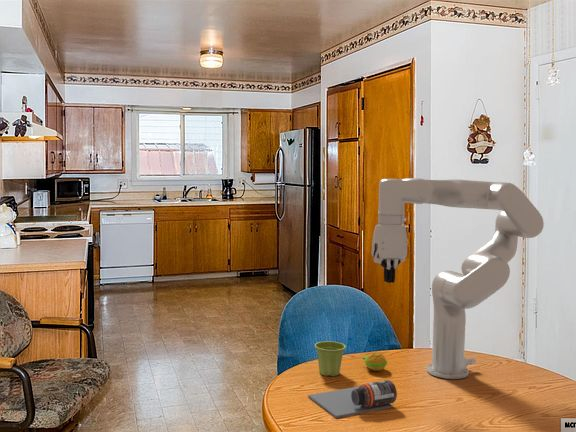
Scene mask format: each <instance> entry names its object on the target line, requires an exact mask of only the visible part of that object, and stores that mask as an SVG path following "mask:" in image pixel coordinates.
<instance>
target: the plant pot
mask: <svg viewBox="0 0 576 432" xmlns="http://www.w3.org/2000/svg"><path fill="white" fill-rule="evenodd" d="M346 346H347V345H346V344H345V343H341V342H338V341H330V340H329V341H328V340H327V341H326V340H325V341H324V340H323V341H319V342H316V343H315V344H314V347H315V350H316V354H317V362H318V370H319V371H318V372H319V374H320V375H322V376H325V377H328V376H331V377H335V376H338V375H340V370H341V366H342V360H343V356H344V352H345V350H346V348H347V347H346Z"/></svg>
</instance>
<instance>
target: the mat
mask: <svg viewBox="0 0 576 432" xmlns="http://www.w3.org/2000/svg"><path fill="white" fill-rule="evenodd" d="M358 387H359V386H354V387H349V388H342V389H335V390H331V391H330V390H329V391H324V392H318V393H313V394H307V395H308V396H307V397H308V399H309V400H311V401H312V402H314V403H315V404H316V403H317V406H319V407H320V408H322V409H323V410H324V409H325V410H324V411H326V412H327V413H328V414H330V415H331V416H332V417H333V418H335V419H340V418H344V417H350V416H355V415H356V416H357V415H360V414H364V413H369V412H375V411H380V410H386V409H390V408H393V405H392V403H391V404H385V405H379V406H374V407H368V408H365V407H363V406H362V405H357V406H356V405H354V404H353V402H352V398H351V393H352V390H355V389H358Z"/></svg>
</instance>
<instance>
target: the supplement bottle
mask: <svg viewBox="0 0 576 432" xmlns="http://www.w3.org/2000/svg"><path fill="white" fill-rule="evenodd" d="M357 387H358V389H355V390H352V393H351V398H352V402H353V404H354V405H356V406H357V405H362V406H363V407H365V408H368V407H374V406H379V405H385V404H391V405H392V404H394V403H395V402H396V401H397V398H398V397H397V396H398V392H397V388H396V385H395V383H394V382H393V381H392V380H388V379H387V380H381V381H380V380H379V381H375V382H373V381H372V382H368V383H362V384H360V385H359V386H357Z"/></svg>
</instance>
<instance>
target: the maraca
mask: <svg viewBox="0 0 576 432" xmlns="http://www.w3.org/2000/svg"><path fill="white" fill-rule="evenodd" d="M362 360H364V361H363V362H364V364H365V365H366V366H367V368H368V369H369V370H371V371H374V372H378V371H379V372H380V371H382V370H384V369H385V368H386V365H387V364H388V360H387V359H386V357H385V356H384V355H383V354H381V352H371V353H369V354H368V355H367V354H366V355H365V356H362Z"/></svg>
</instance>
